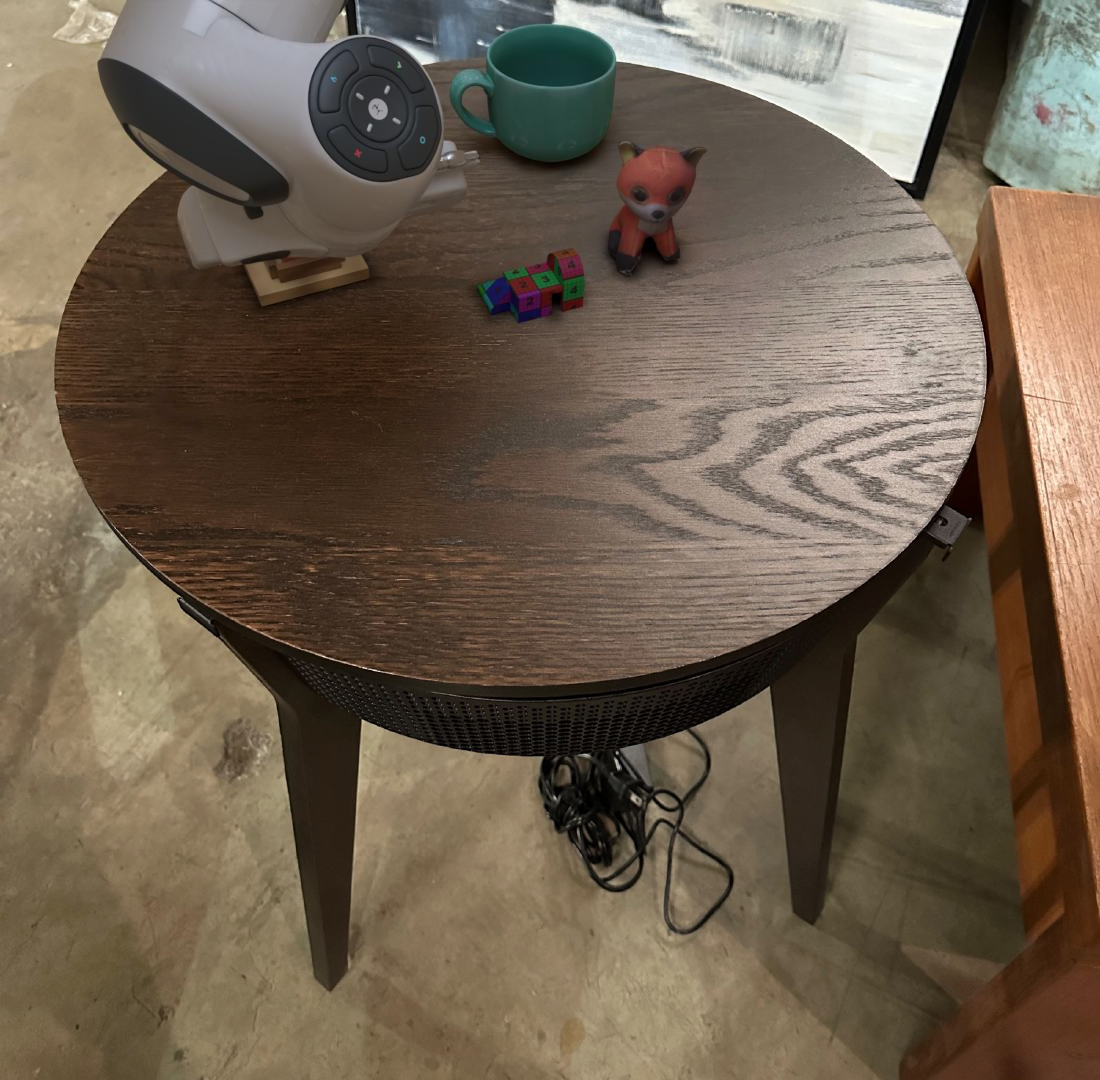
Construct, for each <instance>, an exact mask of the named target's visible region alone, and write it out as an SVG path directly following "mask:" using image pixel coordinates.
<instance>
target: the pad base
mask: <svg viewBox="0 0 1100 1080" xmlns="http://www.w3.org/2000/svg"><path fill="white" fill-rule="evenodd" d="M243 268H244V270H245V272H246V274H247V277H248V279H249V281H250V283H251V285H252V289H253V290H254V292H255V295H256V297H257V299H258V301H259V303H260V306H261V307H266V306H269V305H273V304H277V303H281V302H284V301H289V300H292V299H297V298H300V297H303V296H307V295H311V294H315V293H319V292H323V291H327V290H330V289H334V288H337V287H338V288H339V287H341V286H344V285H349V284H354V283H357V282H360V281H361V282H362V281H364V280H368V279H371V275H370V267H369V266H368V264H367V262H366V260H365V259H364V257H363V254H361V255H357V256H353V257H346V258H335V257H328V256H324V257H316V258H315V257H314V258H312V257H304V258H300V259H296V260H292V261H288V262H284V263H282V261H281V259H276V260H268V261H263V262H257V263H252V264H247V265H243Z"/></svg>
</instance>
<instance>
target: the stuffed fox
mask: <svg viewBox="0 0 1100 1080" xmlns="http://www.w3.org/2000/svg"><path fill="white" fill-rule="evenodd" d="M617 147H618V152H619V153H618V154H619V157H620V159H621V162H622V166H621V169H620V171H619V172H618V175H617V177H616V190H617V193H618V196H619V198H620V199H621V201H622V202H623V203H624V204H623V206H622V207H621V208H620V210H619V211H618V212H617V214H616V215H615V217H614V218H613V220H612V222H611V224H610V227H609V232H608V241H607V248H608V251H609V252H610V254H611V256H612V257H613V258H614V259H615V265H616V266H615V267H616V270H617V271H619V273H622V275H624V276H626V277H632V271H633V270H634V269H635V267H636V266H637V264H638V263H639V262H640V260H641V258H642V250H643V247H644V243H645V241H646V239H648V238H650V239H651V240H652V241H653V243H654V244H656V250H657V252H659V254H660V255H661V256H662V258H663V260H665V261H666V262H670V261H673V260H674V261H678V262H679V261H681V249H680V246H679V242H677V238H676V232H675V227H674V222H673V217H674V216H675V215H676V214H677V213H678V212H679V211H680V210H681V208H682V207H683V206H684V205H685V203H686V202H687V201H688V198H689V197H690V195H691V193H692V190H693V188H694V185H695V181H696V177H697V166H698V164H699V163H700V160H701V159H702V157H703V156H704V155H705V154H706V153H707V152H708V150H709V149H708V148H707V147H703V146H695V147H691V148H689V149H686V150H683V151H680V150H679V149H676V148H673V147H670V146H667V145H657V146H652V147H647V148H641V147H640V146H638V145H637V144H636V143H634V142H632V141H629V140H623V141H619V142H618V143H617Z"/></svg>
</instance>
